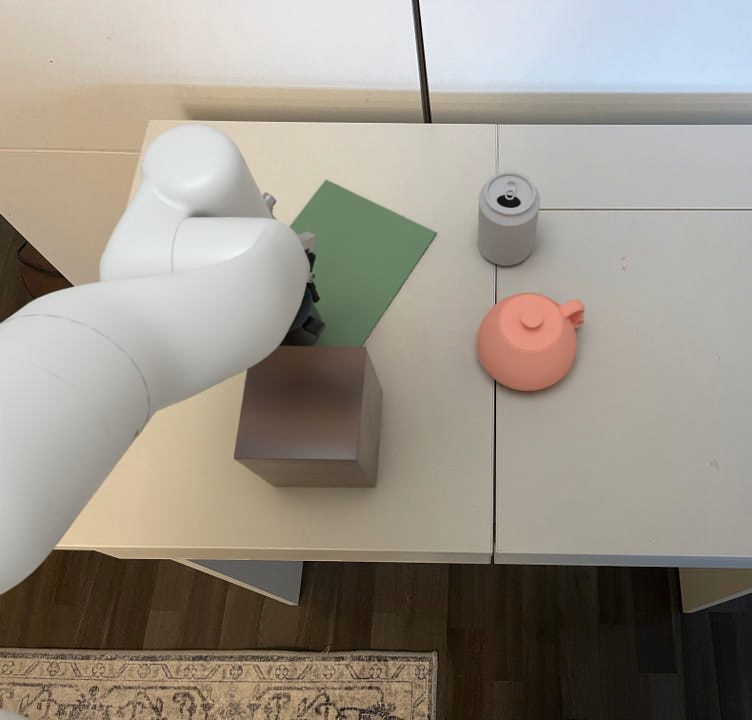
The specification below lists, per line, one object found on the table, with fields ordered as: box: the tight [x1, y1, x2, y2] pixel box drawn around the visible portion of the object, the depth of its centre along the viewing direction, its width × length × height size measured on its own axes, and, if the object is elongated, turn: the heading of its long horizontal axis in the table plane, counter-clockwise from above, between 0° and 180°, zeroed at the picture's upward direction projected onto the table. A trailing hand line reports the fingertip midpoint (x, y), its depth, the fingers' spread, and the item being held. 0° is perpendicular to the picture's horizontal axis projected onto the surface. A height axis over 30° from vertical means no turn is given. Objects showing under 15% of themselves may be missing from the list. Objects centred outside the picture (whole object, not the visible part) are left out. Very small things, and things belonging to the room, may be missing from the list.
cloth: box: [289, 179, 438, 347], centre depth 86 cm, size 28×18×1 cm, turn 151°
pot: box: [279, 286, 326, 346], centre depth 75 cm, size 7×11×6 cm
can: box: [477, 170, 541, 267], centre depth 84 cm, size 8×8×12 cm
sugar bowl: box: [476, 292, 586, 392], centre depth 79 cm, size 12×14×10 cm
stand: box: [233, 346, 384, 489], centre depth 72 cm, size 12×12×14 cm
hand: (288, 322), depth 76 cm, fingers closed on pot, 7 cm apart
